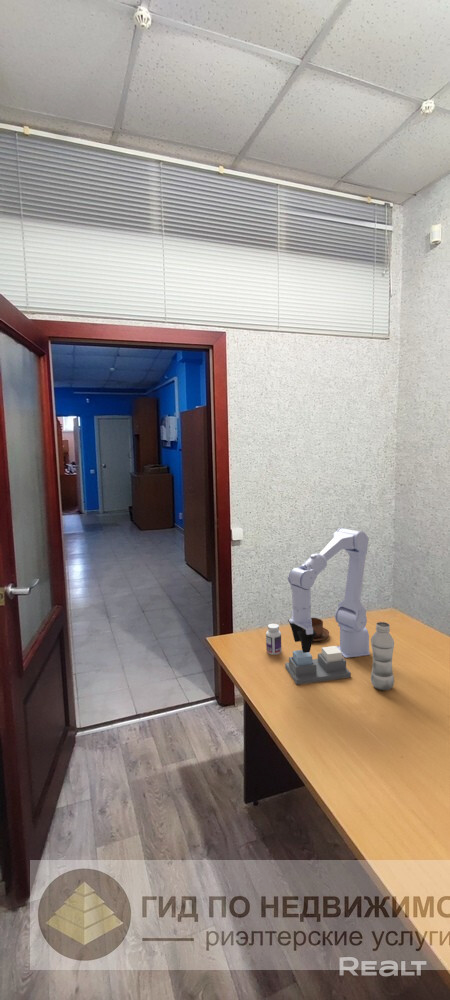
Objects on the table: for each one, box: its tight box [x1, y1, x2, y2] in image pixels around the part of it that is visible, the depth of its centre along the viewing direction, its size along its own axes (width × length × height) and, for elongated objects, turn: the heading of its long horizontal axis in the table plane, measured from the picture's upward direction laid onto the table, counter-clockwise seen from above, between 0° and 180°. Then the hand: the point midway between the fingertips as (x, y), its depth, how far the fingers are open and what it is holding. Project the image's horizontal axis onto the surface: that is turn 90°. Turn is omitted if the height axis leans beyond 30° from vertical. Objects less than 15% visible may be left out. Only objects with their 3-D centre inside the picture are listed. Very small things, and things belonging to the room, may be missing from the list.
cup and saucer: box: [311, 617, 330, 642], centre depth 170 cm, size 12×12×6 cm
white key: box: [321, 645, 343, 662], centre depth 145 cm, size 5×5×3 cm
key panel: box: [284, 652, 352, 686], centre depth 144 cm, size 18×11×4 cm, turn 100°
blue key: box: [292, 649, 313, 666], centre depth 143 cm, size 5×5×3 cm
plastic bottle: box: [370, 621, 395, 691], centre depth 133 cm, size 6×7×20 cm
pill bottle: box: [265, 623, 283, 656], centre depth 159 cm, size 5×5×10 cm
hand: (301, 646), depth 142 cm, fingers open, 7 cm apart
